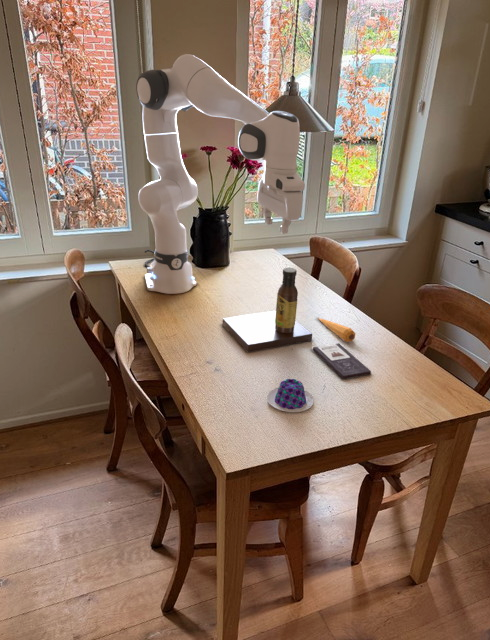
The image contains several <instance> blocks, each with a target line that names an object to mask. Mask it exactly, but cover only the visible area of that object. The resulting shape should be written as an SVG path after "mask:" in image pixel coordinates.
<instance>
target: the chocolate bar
mask: <svg viewBox="0 0 490 640" xmlns="http://www.w3.org/2000/svg"><path fill="white" fill-rule="evenodd" d="M312 351H313V352H314V353H315V354H316V355H317V356H318V357H319V358H320V359H321V360H323V361H324V362H325V364H327V366H329V367H330V369H331V370H333V371H334V373H336V374H337V375H338V377H340V378H341V379H342V380H345V379H352V378H357V377H362V376H367V375H371V372H372V371H371V370H370V369H369V368H368V367H367V366H365V364H363V363H362V362H361V361H360V360H359V359H357V358H356V356H354V355H353V354H352V353H351V352H350V351H348V350H347V349H346V348H345V347H344V346H343V345H341V343H340V342H339V343H332V344H326V345H325V344H324V345H319V346H313V347H312Z"/></svg>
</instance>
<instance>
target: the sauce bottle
mask: <svg viewBox="0 0 490 640" xmlns="http://www.w3.org/2000/svg"><path fill="white" fill-rule="evenodd" d="M297 271H298V270H297V269H296V268H294V267H284V268H283V269H282V282H281V283H282V284H281V285H280V287H278V290H277V294H276V306H275V310H276V317H275V324H276V325H275V329H276V330H277V331H279V332H281V333H291V332H293V331H294V326H295V320H297V319H296V318H297V308H298V294H299V291H298V288H297V286H296V276H297V274H298V273H297Z"/></svg>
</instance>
